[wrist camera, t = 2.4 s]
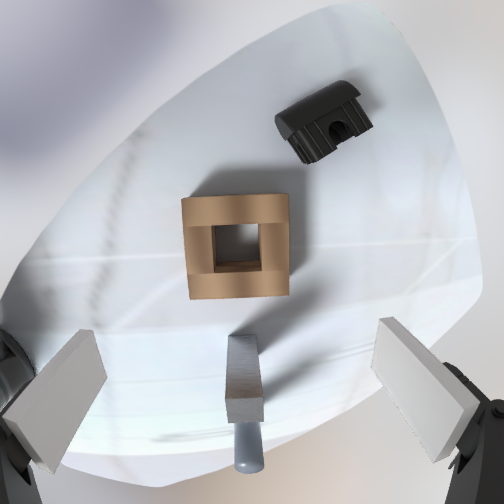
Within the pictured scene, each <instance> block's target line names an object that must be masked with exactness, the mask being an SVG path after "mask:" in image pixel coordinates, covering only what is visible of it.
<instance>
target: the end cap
mask: <svg viewBox="0 0 504 504" xmlns="http://www.w3.org/2000/svg"><path fill="white" fill-rule="evenodd" d="M360 95H361V94H360V93H359V91H358V90H357V89H356V88H355V87H354V86H353V85H352V84H350V83H349V82H346V81H343V80H340V81H337V82H335V83H333V84H331V85H329V86H327V87H325V88H323V89H321V90H320V91H318V92H316V93H314V94H312V95H310V96H308V97H307V98H305V99H303V100H301V101H299V102H298V103H296V104H294V105H292V106H291V107H289V108H287V109H285V110H284V111H282V112H280V113H279V114H277V115H276V116H275V123H276V126H277V128H278V130H279V132H280V134H281V135H282V137H283V139H284V140H285V141H286V140H288V142H289V143H290V145H291V146H292V148H293V149H294V151H295V152H296V154H297V155H298V157H299V158H300V160H301V161H302V162H303V163H304V164H307V165H308V164H310V163H315V162H317V161H319V160H320V159H322V158H323V157H325V156H327V155H328V154H330V153H331V152H333V151H335V150H336V149H338V148H337V147H336V145H338V144H340V143H341V142H344V141H346V140H347V139H349V138H350V137H352V136H355V137H357V136H359V135H360V134H362V133H364V132H365V131H367V130H369V129H370V128H372V127H373V125H372V123H371V122H370V120H369V118H368V117H367V115H366V114H365V112H364V111H363V109H362V107H361V106H360V104H359V103H358V101H357V100H356V98H357V97H358V96H360Z"/></svg>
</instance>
